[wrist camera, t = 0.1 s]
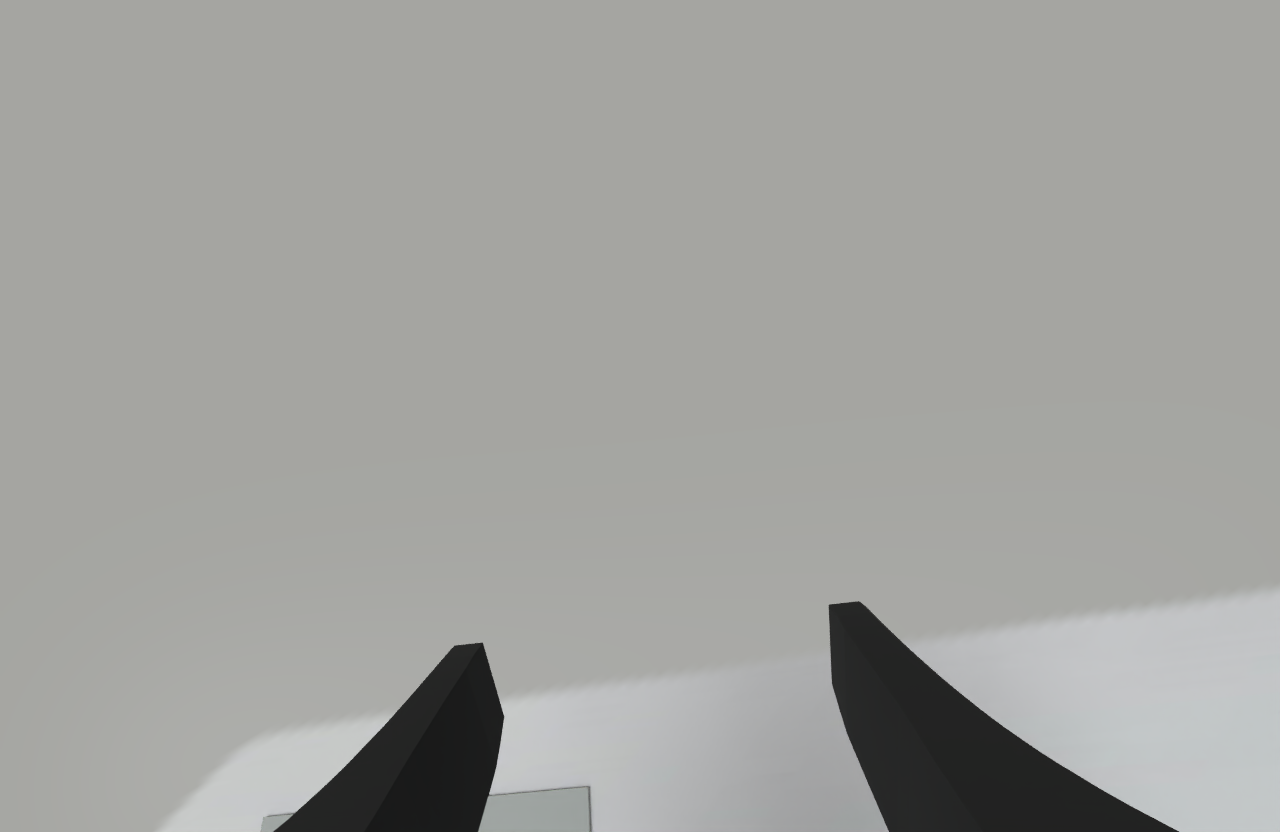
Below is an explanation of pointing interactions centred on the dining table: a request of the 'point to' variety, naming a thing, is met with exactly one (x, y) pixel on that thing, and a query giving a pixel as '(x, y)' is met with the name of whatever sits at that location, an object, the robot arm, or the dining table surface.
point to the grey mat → (519, 812)
